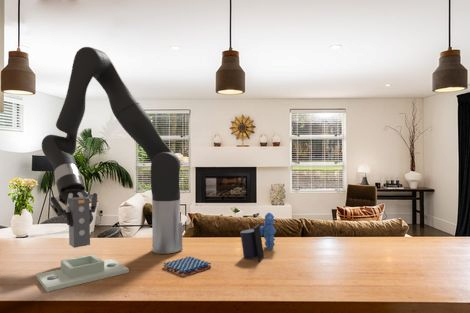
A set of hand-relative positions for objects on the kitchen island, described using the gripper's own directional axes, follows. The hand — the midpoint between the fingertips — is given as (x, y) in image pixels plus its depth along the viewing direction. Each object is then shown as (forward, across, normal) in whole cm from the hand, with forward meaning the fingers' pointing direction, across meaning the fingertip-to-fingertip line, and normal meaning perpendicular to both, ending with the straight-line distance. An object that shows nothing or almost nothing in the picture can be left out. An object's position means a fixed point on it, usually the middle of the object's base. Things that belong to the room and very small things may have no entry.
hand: (81, 223), depth 99 cm
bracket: (+16, -2, +2) cm, 16 cm away
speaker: (+30, +42, -11) cm, 53 cm away
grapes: (+26, +54, -7) cm, 60 cm away
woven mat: (+26, +22, -7) cm, 34 cm away
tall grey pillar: (+3, 0, +6) cm, 7 cm away
